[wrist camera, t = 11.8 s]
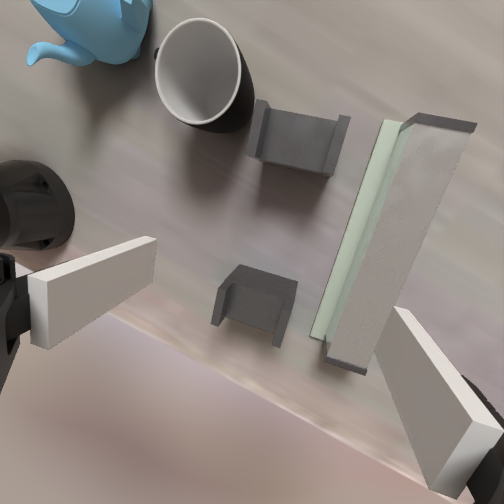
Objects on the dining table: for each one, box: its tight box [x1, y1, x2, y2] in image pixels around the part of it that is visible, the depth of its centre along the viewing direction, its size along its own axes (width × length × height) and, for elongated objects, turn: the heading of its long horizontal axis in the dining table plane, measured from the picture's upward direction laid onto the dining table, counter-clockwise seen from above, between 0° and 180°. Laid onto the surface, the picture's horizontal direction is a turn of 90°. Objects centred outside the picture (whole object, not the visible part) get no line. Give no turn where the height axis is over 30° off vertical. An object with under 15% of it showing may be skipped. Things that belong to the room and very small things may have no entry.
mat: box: [310, 119, 403, 340], centre depth 34 cm, size 9×30×1 cm, turn 167°
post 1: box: [211, 264, 298, 348], centre depth 35 cm, size 9×5×10 cm, turn 77°
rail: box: [323, 113, 477, 376], centre depth 31 cm, size 30×5×5 cm, turn 167°
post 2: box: [246, 99, 351, 177], centre depth 29 cm, size 9×5×10 cm, turn 77°
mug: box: [154, 18, 255, 133], centre depth 29 cm, size 12×9×10 cm
